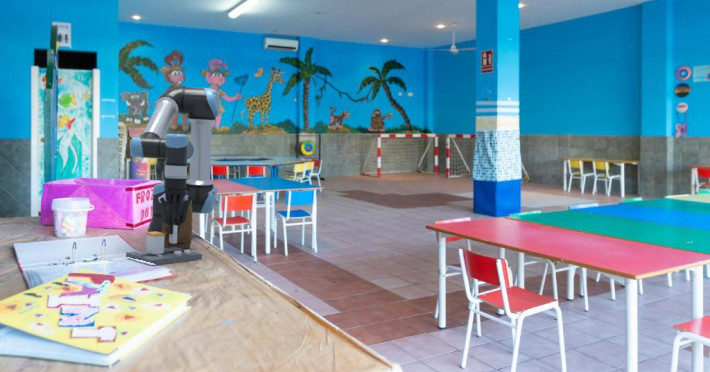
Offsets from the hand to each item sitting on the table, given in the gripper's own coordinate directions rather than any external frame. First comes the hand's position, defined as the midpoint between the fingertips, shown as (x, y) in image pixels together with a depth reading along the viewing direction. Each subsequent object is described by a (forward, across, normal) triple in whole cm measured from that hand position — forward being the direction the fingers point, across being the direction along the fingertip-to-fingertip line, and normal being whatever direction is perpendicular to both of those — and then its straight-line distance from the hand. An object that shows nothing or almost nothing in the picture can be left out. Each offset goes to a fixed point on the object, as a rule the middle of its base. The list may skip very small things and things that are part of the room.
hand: (172, 242), depth 210 cm
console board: (+5, +3, 0) cm, 6 cm away
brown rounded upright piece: (+6, -11, -15) cm, 20 cm away
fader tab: (+3, +7, 0) cm, 8 cm away
